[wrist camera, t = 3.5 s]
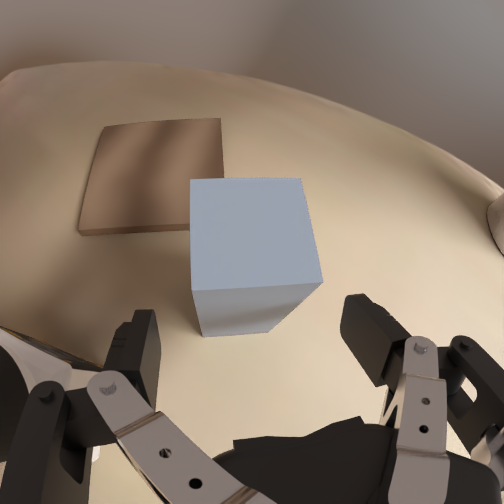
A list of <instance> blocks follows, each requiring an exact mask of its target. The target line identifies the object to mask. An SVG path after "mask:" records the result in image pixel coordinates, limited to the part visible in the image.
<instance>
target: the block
mask: <svg viewBox="0 0 504 504" xmlns="http://www.w3.org/2000/svg"><path fill="white" fill-rule="evenodd" d="M190 259H191V289H192V295H193V299H194V303H195V307H196V311H197V316H198V320H199V324H200V328H201V331H202V335H203V337H216V336H231V335H244V334H256V333H267V332H269V331H270V330H271V329H273V328H274V327H275V326H276V325H277V324H278V323H279V322H280V321H282V320H283V319H284V318H285V317H286V316H287V315H288V314H289V313H290V312H292V311H293V310H294V309H295V308H296V307H297V306H298V305H299V304H300V303H301V302H303V301H304V300H305V299H306V298H307V297H308V296H309V295H310V294H311V293H312V292H313V291H314V290H315V289H317V288H318V287H319V286H320V285H321V284H322V283H323V278H322V272H321V267H320V262H319V257H318V252H317V248H316V243H315V238H314V233H313V229H312V224H311V220H310V215H309V211H308V207H307V202H306V198H305V194H304V190H303V186H302V182H301V178H214V179H190Z"/></svg>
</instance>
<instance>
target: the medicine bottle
mask: <svg viewBox="0 0 504 504" xmlns="http://www.w3.org/2000/svg"><path fill="white" fill-rule="evenodd" d="M102 370H103V367H101V366H98V365H96V364H93V363H91V362H88V361H86V360H83V359H81V358H78V357H76V356H73V355H71V354H69V353H66V352H64V351H62V350H60V349H57V348H55V347H53V346H51V345H49V344H46V343H44V342H42V341H40V340H38V339H35V338H32V337H29V336H26V335H23V334H20V333H17V332H15V331H12V330H9V329H7V328H4V327H2V326H0V463H1V462H5V461H7V458H8V455H9V451H10V448H11V445H12V441H13V438H14V435H15V432H16V429H17V426H18V423H19V420H20V417H21V415H22V412H23V409H24V406H25V404H26V401H27V399H28V396H29V394H30V392H31V390H32V389H33V387H34V386H36V385H37V384H39V383H41V382H43V381H56V382H58V383H60V384H61V385H62V386H63V388H64V390H65V391H68V390H74V389H80V388H84V387H87V384H88V382H89V380H90V379H91V378H92V377H93V376H94V375H95V374H97V373H100V372H102ZM99 453H100V446H96V447H93V455H92V462H93V461H95V460H97V459H98V458H99Z"/></svg>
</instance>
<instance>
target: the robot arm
mask: <svg viewBox="0 0 504 504" xmlns="http://www.w3.org/2000/svg"><path fill="white" fill-rule="evenodd" d="M487 218H488V223H489V227H490V230H491V233H492V235H493V238H494V240H495V242H496V244H497V246H498V247H499V249H500V250H501V252H502V253H503V255H504V193H503V194H502V195H501V196H500V197H498V198H497V199H496V200H495V201H494V202H493V203H492V204H490V205H489V207H488V210H487ZM340 333H341V337H342V339H343V340H344V342H345V343H346V344H347V346H348V347H349V349H350V350H351V352H352V353H353V355H354V356H355V358H356V359H357V360H358V362H359V363H360V365H361V366H362V368H363V369H364V371H365V372H366V374H367V375H368V377H369V378H370V380H371V381H372V382H373V384H374V385H375V387H379V386H382V385H385V384H387V386H388V388H387V390H386V393H385V398H384V403H383V408H382V412H381V417H380V421H379V424H364V422H363V420H362V418H361V417H360V416H358V417H354V418H350V419H347V420H343V421H339V422H335V423H332V424H330V425H328V426H326V427H324V428H322V429H320V430H317V431H315V432H313V433H311V434H309V435H307V436H304V437H275V436H264V437H257V438H248V439H239V440H233V448H234V449H232V450H229V451H226V452H224V453H222V454H219V455H218V456H216V457H214V458H212V459H211V458H210V457H209V456H208V455H207V454H205V453H204V452H203V451H202V450H201V449H200V448H199V447H198V446H197V445H196V444H194V443H193V442H192V441H191V440H190V439H189V438H188V437H187V436H186V435H185V434H184V433H183V432H182V431H181V430H180V429H179V428H178V427H177V426H176V425H175V424H174V423H173V422H172V421H171V420H170V419H169V418H168V417H167V416H166V415H165V414H164V413H163V412H161V411H158V412H155V409H156V397H157V387H158V377H159V368H160V360H161V343H160V337H159V332H158V327H157V321H156V316H155V311H154V310H153V309H150V310H135V312H134V315H133V319H132V322H124V323H123V324H122V325H121V326H120V327H119V328H118V329H117V330H116V332H115V335H114V338H113V340H112V343H111V347H110V349H109V352H108V355H107V358H106V361H105V364H104V367H103V370H102V372H100V373H97V374H95V375H94V376H93V377H92V378H91V379H90V380H89V382H88V384H87V387H84V388H80V389H74V390H68V391H65V390H64V388H63V386H62V385H61V384H60V383H58V382H56V381H43V382H41V383H39V384H37V385H36V386H34V387H33V389H32V390H31V392H30V394H29V396H28V399H27V401H26V404H25V406H24V409H23V412H22V415H21V417H20V420H19V423H18V426H17V429H16V432H15V435H14V438H13V441H12V445H11V448H10V451H9V455H8V458H7V462H6V466H5V470H4V474H3V478H2V483H1V487H0V504H88V500H89V485H90V473H91V463H92V455H93V447H96V446H101V445H107V444H112V443H116V444H117V446H118V447H119V449H120V450H121V451H122V453H123V454H124V456H125V457H126V458H127V460H128V461H129V462H130V464H131V465H132V466H133V467H134V469H135V470H136V471H137V472H138V474H139V475H140V476H141V477H142V479H143V480H144V481H145V483H146V484H147V485H148V486H149V488H150V489H151V490H152V491H153V492H154V494H155V495H156V496H157V497H158V498H159V499H160V500H161V501H162V502H163V504H502V499H501V491H504V370H503V369H502V368H501V367H500V366H499V364H498V363H497V362H496V361H495V360H494V359H493V358H492V357H491V356H490V355H489V354H488V353H487V352H486V351H485V350H484V349H483V348H482V347H481V346H480V345H479V344H478V343H477V342H475V341H474V340H473V339H471V338H469V337H467V336H462V335H459V336H455V337H454V338H453V339H452V341H451V343H450V346H449V347H436V345H435V344H434V342H432V341H431V340H429V339H428V338H425V337H421V336H413V337H412V336H411V335H410V334H409V333H408V332H407V331H406V330H405V329H404V328H403V327H402V325H401V324H400V323H399V322H398V321H396V319H395V318H394V317H393V316H390V313H389V312H388V311H387V310H386V309H385V308H383V307H381V306H380V305H378V304H376V303H373V302H372V301H371V300H370V299H369V298H368V297H367V296H366V295H365V294H363V293H362V294H354V295H348V296H347V297H346V298H345V302H344V308H343V313H342V318H341V323H340ZM466 377H467V378H468V380H469V381H470V382H471V383H472V384H473V386H474V387H475V388H476V390H477V398H476V400H475V402H474V403H473V401H472V400H471V399H470V397H469V396H468V395H467V394H466V392H465V391H464V390H463V389H462V387H461V385H462V383H463V381H464V380H465V378H466ZM447 421H448V422H449V424H450V425H451V427H452V428H453V430H454V431H455V433H456V434H457V436H458V437H459V439H460V440H461V442H462V443H463V445H464V446H465V448H466V450H467V451H468V453H469V454H470V456H471V459H469V458H466V457H463V456H460V455H457V454H455V453H452V452H449V451H447V450H446V435H447Z"/></svg>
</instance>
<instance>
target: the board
mask: <svg viewBox="0 0 504 504" xmlns="http://www.w3.org/2000/svg"><path fill="white" fill-rule="evenodd" d="M214 178H224V166H223V150H222V134H221V118H212V119H182V120H165V121H152V122H141V123H131V124H122V125H114V126H107V127H104V129H103V132H102V135H101V138H100V142H99V145H98V148H97V151H96V155H95V158H94V162H93V165H92V169H91V173H90V177H89V181H88V185H87V189H86V193H85V198H84V202H83V207H82V212H81V217H80V222H79V227H78V231H79V232H80V233H81V235H82V236H88V235H103V234H119V233H137V232H155V231H175V230H190V179H214Z"/></svg>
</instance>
